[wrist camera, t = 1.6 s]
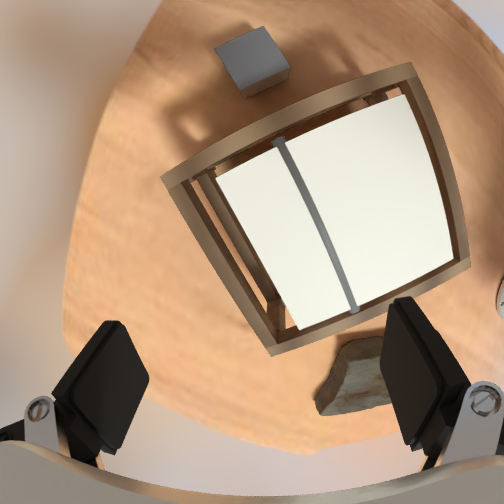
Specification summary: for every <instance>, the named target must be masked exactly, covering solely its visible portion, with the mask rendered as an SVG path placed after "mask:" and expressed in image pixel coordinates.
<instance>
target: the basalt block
mask: <svg viewBox="0 0 504 504" xmlns="http://www.w3.org/2000/svg"><path fill="white" fill-rule="evenodd" d="M215 51H216V53H217V54H218V56H219V57H220V59H221V60H222V62H223V64H224V65H225V67H226V68H227V70H228V72H229V73H230V75H231V77H232V78H233V80H234V82H235V83H236V85H237V87H238V88H239V90H240V91H241V93H242V94H243V96H244V97H245V98H248V97H250V96H252V95H254V94H256V93H258V92H260V91H263V90H265V89H267V88H269V87H271V86H273V85H275V84H278V83H280V82H282V81H284V80H287V79H288V78H289V73H290V65H289V64H288V62H287V61H286V59H285V57H284V56H283V54H282V53H281V51H280V50H279V48H278V47H277V45H276V43H275V42H274V40H273V39H272V38H271V36H270V35H269V33H268V32H267V30H266V29H265V27H264V26H262V27H259V28H257V29H255V30H253V31H250V32H248V33H246V34H244V35H241V36H239V37H237V38H235V39H233V40H231V41H229V42H227V43H225V44H223V45H221V46H219V47H217V48H215Z"/></svg>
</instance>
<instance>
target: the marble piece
mask: <svg viewBox="0 0 504 504" xmlns="http://www.w3.org/2000/svg"><path fill="white" fill-rule="evenodd" d="M383 340H384V337H377V336H375V337H370V338H362V339H357V340H352V341H351V342H350V343H348V344H347V345H346V346H344V347H342V348H341V350H340V352H339V355H338V357H337V358H336V360H335V363H334V366H333V368H332V369H331V372H330V375H329V377H328V379H327V381H326V382H325V383H324V384H323V386H322V388H321V389H320V391H319V392H318V394H317V397H316V401H315V405H316V408H317V410H318V412H319V414H320V415H321V416H332V415H338V414H346V413H351V412H357V411H362V410H366V409H371V408H374V407H376V406H380V405H386V404H391V403H392V402H391V399H390V396H389V393H388V390H387V387H386V384H385V382H384V379H383V376H382V373H381V370H380V356H381V351H382V346H383Z"/></svg>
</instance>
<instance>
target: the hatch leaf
mask: <svg viewBox="0 0 504 504" xmlns="http://www.w3.org/2000/svg"><path fill="white" fill-rule="evenodd" d="M271 143H272V145H273V147H274V148H273V149H271V150H269V151H266V152H264V153H262V154H260V155H258V156H256V157H255V158H253V159H251V160H249V161H247V162H245V163H243V164H241V165H239V166H237V167H235V168H233V169H231V170H230V171H228V172H226V173H224V174H222V175H220V176H218V177H217V178H215V179H216V181H217V183H218V184H219V186H220V188H221V190H222V191H223V193H224V195H225V197H226V199H227V200H228V202H229V204H230V206H231V208H232V209H233V211H234V213H235V215H236V217H237V218H238V220H239V222H240V224H241V226H242V227H243V229H244V231H245V233H246V235H247V236H248V238H249V240H250V242H251V244H252V245H253V247H254V249H255V251H256V253H257V255H258V256H259V258H260V260H261V262H262V264H263V265H264V267H265V269H266V271H267V273H268V274H269V276H270V278H271V280H272V282H273V283H274V285H275V287H276V289H277V291H278V293H279V294H280V296H281V298H282V300H283V302H284V303H285V305H286V307H287V309H288V311H289V312H290V314H291V316H292V318H293V320H294V322H295V323H296V325H297V327H298V329H299V330H301V329H303V328H306V327H309V326H311V325H314V324H316V323H319V322H321V321H324V320H326V319H329V318H331V317H334V316H336V315H339V314H341V313H343V312H346V311H348V310H349V312H350V313H351V314H354V313H357V312H358V311H359V310H360V305H362V304H364V303H366V302H369V301H371V300H373V299H375V298H377V297H380V296H382V295H384V294H386V293H388V292H390V291H392V290H394V289H396V288H398V287H400V286H403V285H405V284H407V283H409V282H411V281H413V280H415V279H416V278H418V277H420V276H422V275H424V274H426V273H428V272H430V271H432V270H434V269H436V268H437V267H439V266H441V265H443V264H445V263H447V262H448V261H450V260H452V259H453V252H452V246H451V240H450V235H449V229H448V224H447V220H446V215H445V211H444V206H443V202H442V198H441V194H440V190H439V187H438V183H437V180H436V176H435V173H434V170H433V166H432V163H431V160H430V157H429V154H428V151H427V148H426V145H425V143H424V140H423V137H422V135H421V132H420V129H419V127H418V124H417V122H416V119H415V117H414V115H413V112H412V110H411V108H410V105H409V103H408V101H407V99H406V97H405V94H403V95H400V96H397V97H394V98H391V99H388V100H386V101H383V102H380V103H377V104H375V105H372V106H369V107H367V108H364V109H362V110H359V111H356V112H354V113H351V114H349V115H346V116H344V117H342V118H339V119H337V120H334V121H332V122H330V123H327V124H325V125H323V126H320V127H318V128H316V129H313V130H311V131H309V132H307V133H305V134H302V135H300V136H298V137H296V138H294V139H291V140H289V141H287V140H286V138H285V137H284V135H283V136H281V137H279V138H277V139H275V140H272V141H271Z"/></svg>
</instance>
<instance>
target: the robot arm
mask: <svg viewBox="0 0 504 504" xmlns="http://www.w3.org/2000/svg"><path fill="white" fill-rule="evenodd" d="M497 311H498V314H499V315H500V316H501V317H502V318H503V319H504V279H503V282H502V284H501V286H500V289H499V292H498V297H497ZM380 370H381V373H382V376H383V379H384V382H385V384H386V387H387V390H388V393H389V396H390V399H391V402H392V405H393V408H394V411H395V414H396V417H397V420H398V423H399V426H400V430H401V433H402V436H403V439H404V442H405V444H406V445H410V447H411V450H412V452H413V451H416V450H419V449H422V448H423V451H424V454H425V455H426V457H425V459H424V461H423V463H422V465H421V467H420V469H419V471H418V473H415V474H411V475H408V476H405V477H401V478H397V479H393V480H390V481H386V482H381V483H377V484H372V485H368V486H363V487H357V488H352V489H346V490H341V491H334V492H326V493H318V494H308V495H295V496H264V497H263V496H232V495H219V494H208V493H201V492H193V491H186V490H180V489H174V488H169V487H164V486H159V485H155V484H150V483H146V482H142V481H138V480H134V479H131V478H127V477H123V476H120V475H116V474H114V473H111V472H107V471H105V468H104V465H103V463H102V460H101V457H100V454H99V452H100V450H102V451H103V452H106V453H109V454H112V455H115V454H116V451H117V449H119V448H121V446H122V444H123V441H124V439H125V436H126V434H127V431H128V429H129V427H130V424H131V422H132V420H133V417H134V415H135V413H136V410H137V408H138V406H139V404H140V401H141V399H142V397H143V394H144V392H145V390H146V388H147V386H148V383H149V375H148V372H147V371H146V369H145V367H144V365H143V363H142V361H141V359H140V357H139V355H138V353H137V351H136V349H135V347H134V345H133V342H132V340H131V338H130V336H129V334H128V332H127V329H126V327H125V326H124V325H122V323H121V322H120V321H110V320H107V321H104V322H103V323H102V325H101V326H100V327H99V328H98V330H97V331H96V332H95V334H94V335H93V336H92V338H91V339H90V340H89V341H88V343H87V344H86V345H85V347H84V348H83V349H82V351H81V352H80V353H79V355H78V356H77V357H76V359H75V360H74V362H73V363H72V364H71V366H70V367H69V369H68V370H67V371H66V373H65V374H64V376H63V377H62V378H61V380H60V381H59V383H58V384H57V386H56V387H55V388H54V390H53V391H52V393H51V394H52V395H53V396H54V397H55V399H56V400H55V402H53V401H52V399H51V398H50V397H48V396H40V397H37V398H35V399H34V400H32V401H31V402H30V403H29V405H28V406H27V408H26V410H25V416H24V417H25V418H24V419H23V420H20V421H18V422H16V423H13V424H11V425H8V426H6V427H3V428H1V429H0V504H504V393H503V391H502V390H501V389H500V387H498V386H497V385H496V384H494V383H491V382H487V381H481V382H477V383H475V384H473V385H471V383H470V381H469V380H468V378H467V376H466V375H465V373H464V371H463V370H462V368H461V366H460V365H459V363H458V361H457V360H456V358H455V357H454V355H453V353H452V352H451V350H450V349H449V347H448V346H447V344H446V343H445V341H444V340H443V338H442V337H441V335H440V334H439V332H438V331H437V330H435V329H434V327H433V326H432V324H431V323H430V322H429V320H428V319H427V317H426V316H425V314H424V313H423V312H422V310H421V309H420V307H419V306H418V305H417V303H416V302H415V300H414V299H413V298H412V297H411V296H406V297H400V298H395V299H394V301H393V303H391V304H389V307H388V314H387V321H386V328H385V334H384V340H383V346H382V351H381V356H380Z"/></svg>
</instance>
